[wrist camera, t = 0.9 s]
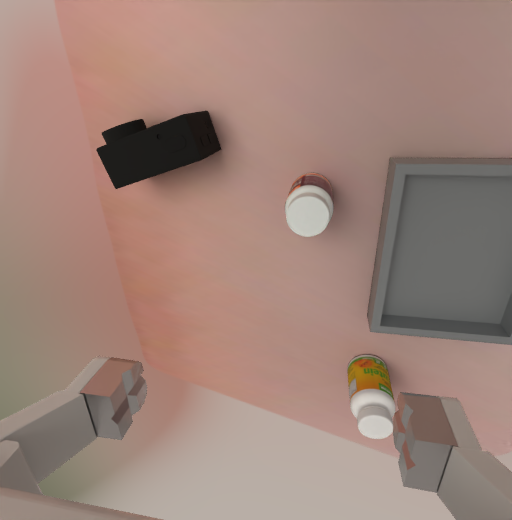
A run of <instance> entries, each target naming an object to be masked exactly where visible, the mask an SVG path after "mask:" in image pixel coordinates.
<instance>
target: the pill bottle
mask: <svg viewBox="0 0 512 520" xmlns="http://www.w3.org/2000/svg"><path fill="white" fill-rule="evenodd" d="M333 209H334V206H333V192H332V187H331V184H330V183H329V181H328V180H327V179H326V178H325V177H324V176H322V175H320V174H317V173H307V174H304V175H302V176H300V177H298V178H297V179H296V180H295V181H294V183H293V185H292V187H291V190H290V192H289V195H288V198H287V201H286V203H285V213H286V219H287V223H288V225H289V227H290V228H291V230H292V231H293V232H295V233H296V234H298V235H300V236H304V237H311V236H315V235H318V234H320V233H321V232H322V231H323V230H324V229H325V228H326V227H327V225H328V223H329V221H330V219H331V217H332V214H333Z"/></svg>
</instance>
